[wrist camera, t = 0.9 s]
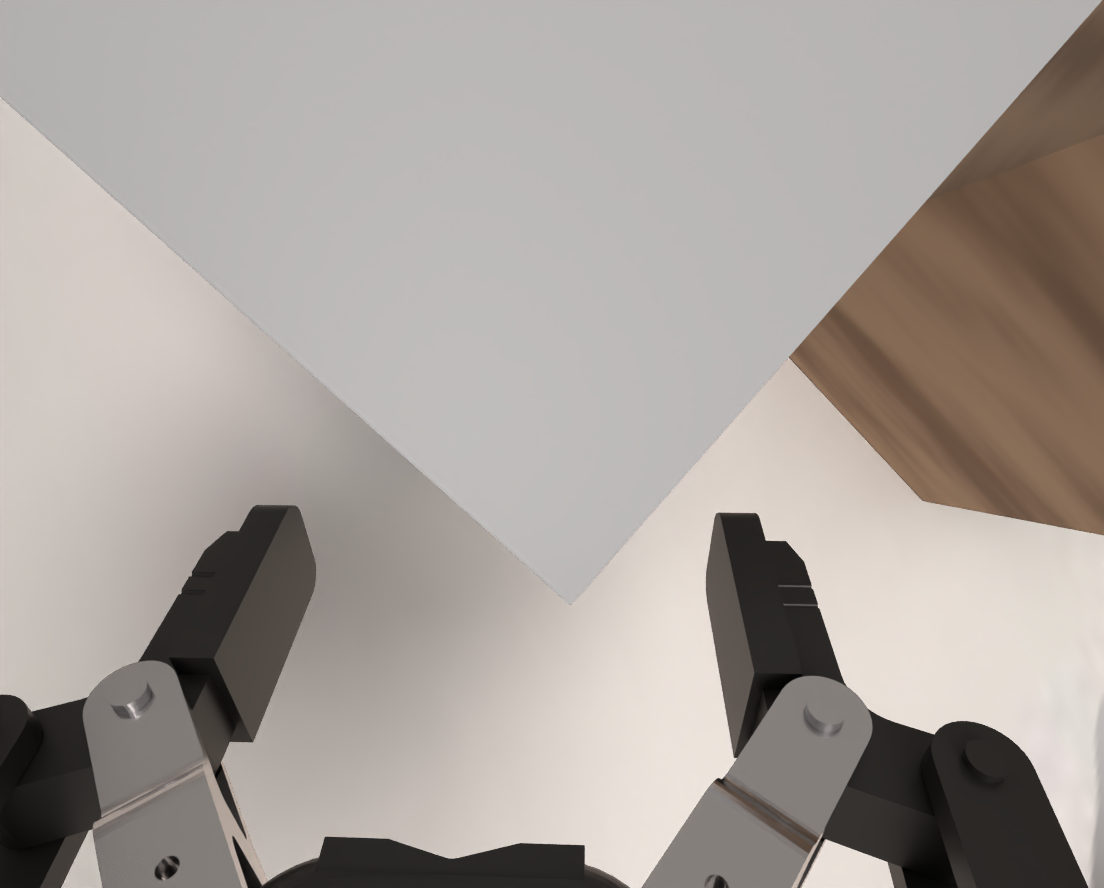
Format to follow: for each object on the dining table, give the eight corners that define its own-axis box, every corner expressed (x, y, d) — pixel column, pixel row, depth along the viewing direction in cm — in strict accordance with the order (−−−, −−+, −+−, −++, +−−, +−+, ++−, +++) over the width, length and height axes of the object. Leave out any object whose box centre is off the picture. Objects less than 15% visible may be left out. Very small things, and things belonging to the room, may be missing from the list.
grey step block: (454, 470, 33) (570, 605, 11) (240, 277, 30) (-138, -26, 9) (672, 233, 34) (1149, -53, 13) (485, 31, 32) (677, -742, 10)
